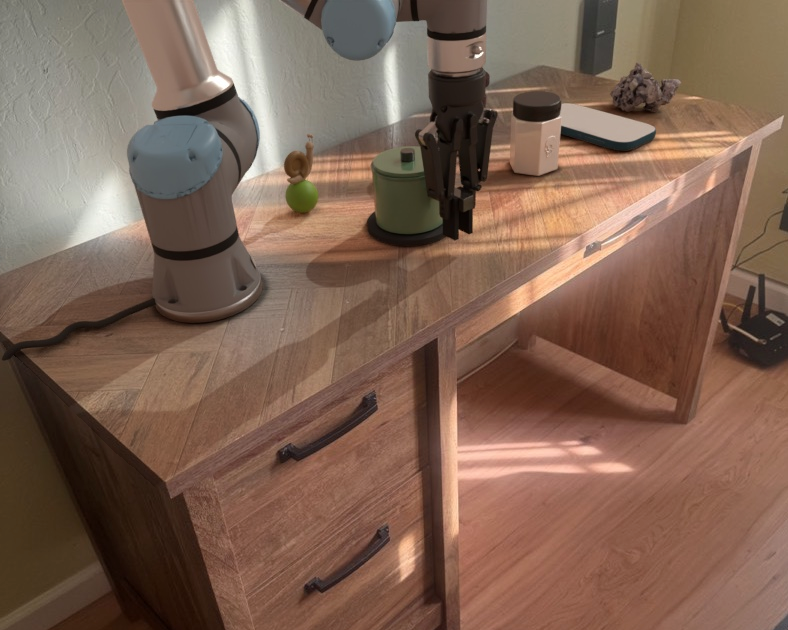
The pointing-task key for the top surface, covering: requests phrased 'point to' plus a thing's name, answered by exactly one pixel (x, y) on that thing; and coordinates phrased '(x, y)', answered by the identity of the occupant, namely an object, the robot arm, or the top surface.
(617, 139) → the external hard drive
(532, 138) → the jar
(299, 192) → the snail figurine
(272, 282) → the top surface
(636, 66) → the mineral specimen
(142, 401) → the top surface
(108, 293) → the top surface
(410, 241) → the trivet
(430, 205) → the pot
